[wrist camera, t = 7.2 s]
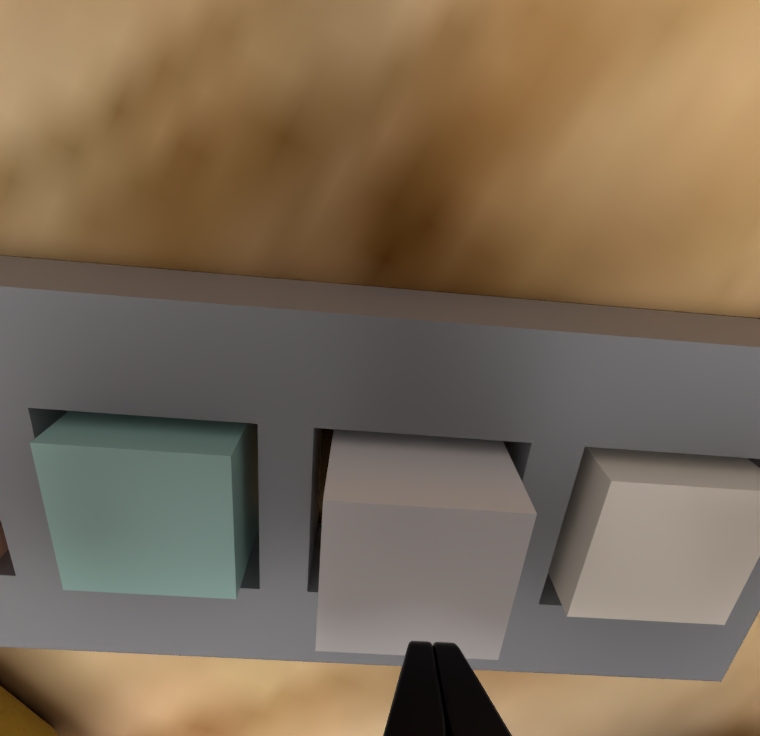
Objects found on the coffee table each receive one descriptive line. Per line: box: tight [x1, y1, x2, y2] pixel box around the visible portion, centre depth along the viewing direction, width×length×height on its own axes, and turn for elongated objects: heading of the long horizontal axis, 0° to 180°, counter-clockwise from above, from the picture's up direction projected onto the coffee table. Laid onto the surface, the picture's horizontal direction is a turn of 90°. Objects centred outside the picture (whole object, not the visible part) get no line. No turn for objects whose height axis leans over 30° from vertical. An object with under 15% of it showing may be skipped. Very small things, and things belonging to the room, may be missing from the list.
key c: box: [30, 411, 259, 599], centre depth 12 cm, size 4×4×3 cm
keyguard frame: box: [0, 255, 760, 681], centre depth 12 cm, size 25×10×2 cm, turn 85°
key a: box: [548, 447, 760, 625], centre depth 13 cm, size 4×4×3 cm
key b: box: [315, 429, 537, 660], centre depth 11 cm, size 4×4×3 cm
